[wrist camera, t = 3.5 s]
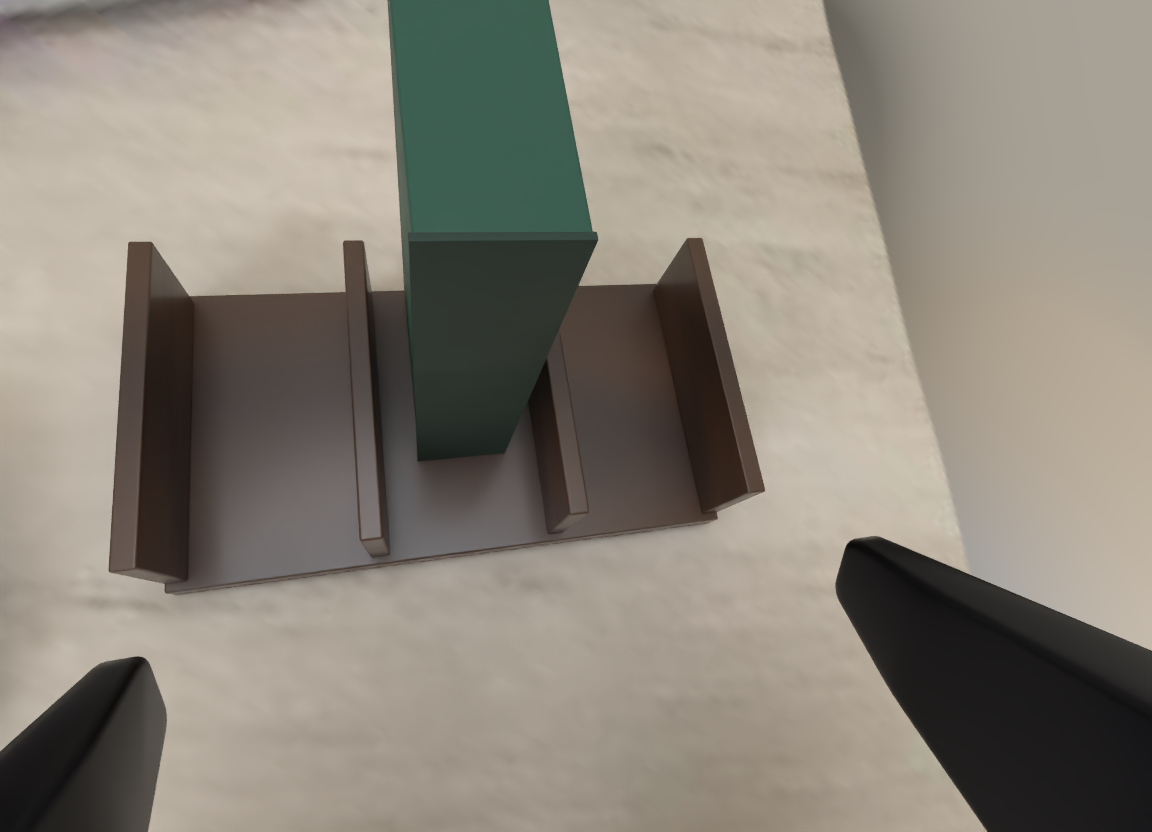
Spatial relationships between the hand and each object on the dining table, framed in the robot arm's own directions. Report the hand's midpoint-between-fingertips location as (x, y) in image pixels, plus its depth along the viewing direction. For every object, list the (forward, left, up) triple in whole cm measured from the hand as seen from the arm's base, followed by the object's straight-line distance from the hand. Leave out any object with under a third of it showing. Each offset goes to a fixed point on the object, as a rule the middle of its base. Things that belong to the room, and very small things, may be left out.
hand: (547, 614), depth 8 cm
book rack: (+7, -1, -13) cm, 15 cm away
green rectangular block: (+8, -2, -12) cm, 15 cm away
